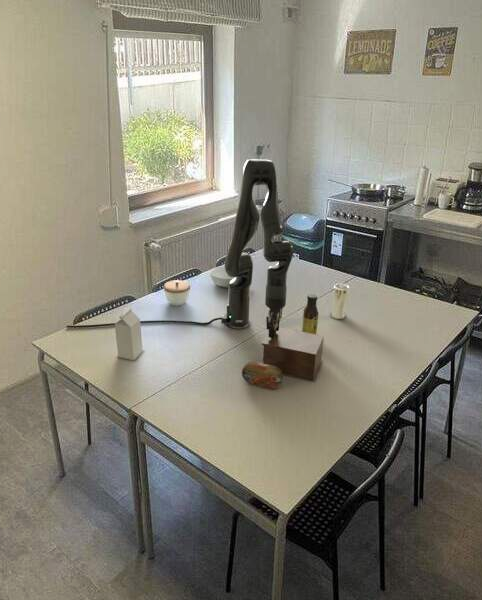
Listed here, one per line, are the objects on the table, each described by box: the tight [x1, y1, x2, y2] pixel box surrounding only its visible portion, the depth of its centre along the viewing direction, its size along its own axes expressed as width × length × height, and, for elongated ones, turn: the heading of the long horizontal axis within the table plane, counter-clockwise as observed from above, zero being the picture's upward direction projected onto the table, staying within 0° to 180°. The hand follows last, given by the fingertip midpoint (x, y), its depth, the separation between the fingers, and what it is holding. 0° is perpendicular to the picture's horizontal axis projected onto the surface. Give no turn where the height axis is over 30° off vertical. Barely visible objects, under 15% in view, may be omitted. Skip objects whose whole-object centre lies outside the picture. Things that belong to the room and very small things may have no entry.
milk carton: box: [114, 308, 143, 361], centre depth 191 cm, size 7×7×19 cm
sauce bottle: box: [301, 293, 319, 335], centre depth 204 cm, size 7×6×20 cm
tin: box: [241, 361, 284, 390], centre depth 177 cm, size 15×3×8 cm, turn 70°
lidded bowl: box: [163, 279, 191, 307], centre depth 235 cm, size 13×13×11 cm
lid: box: [261, 323, 325, 356], centre depth 184 cm, size 20×14×5 cm
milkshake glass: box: [331, 283, 350, 320], centre depth 224 cm, size 7×7×15 cm
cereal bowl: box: [210, 265, 235, 288], centre depth 256 cm, size 17×17×7 cm
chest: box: [262, 337, 325, 382], centre depth 187 cm, size 20×14×11 cm
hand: (273, 333), depth 187 cm, fingers closed on lid, 5 cm apart
